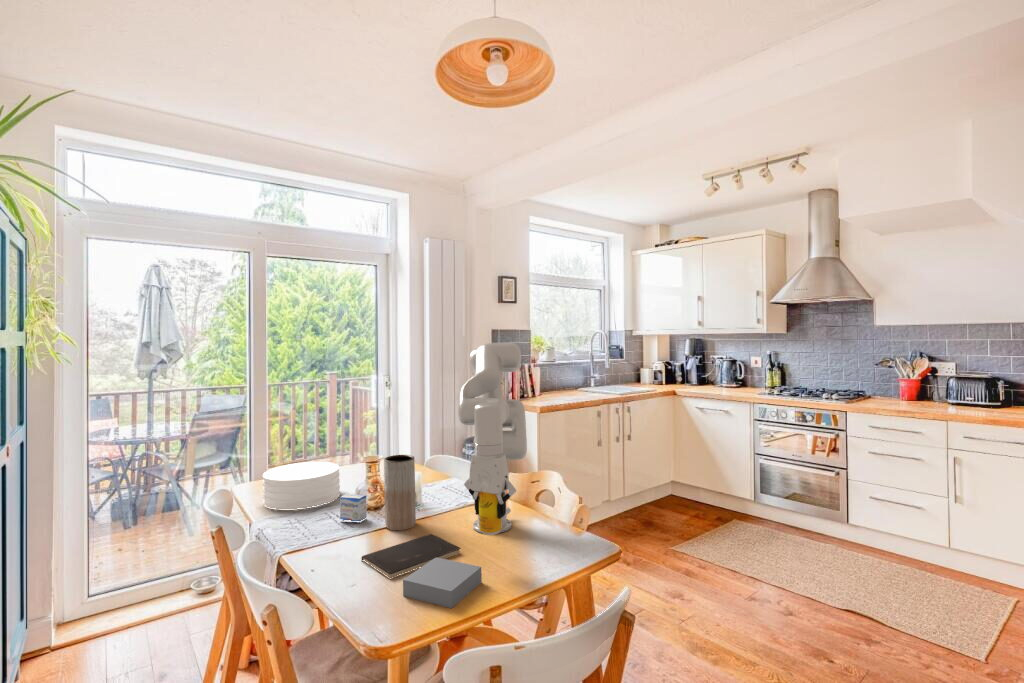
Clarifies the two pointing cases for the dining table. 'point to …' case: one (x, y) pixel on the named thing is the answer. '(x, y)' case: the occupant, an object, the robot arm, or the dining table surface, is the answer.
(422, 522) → the dining table surface
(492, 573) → the dining table surface
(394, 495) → the planter
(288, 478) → the plate stack
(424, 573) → the plate
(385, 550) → the hardcover book
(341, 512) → the medicine box
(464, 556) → the dining table surface
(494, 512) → the beer can
